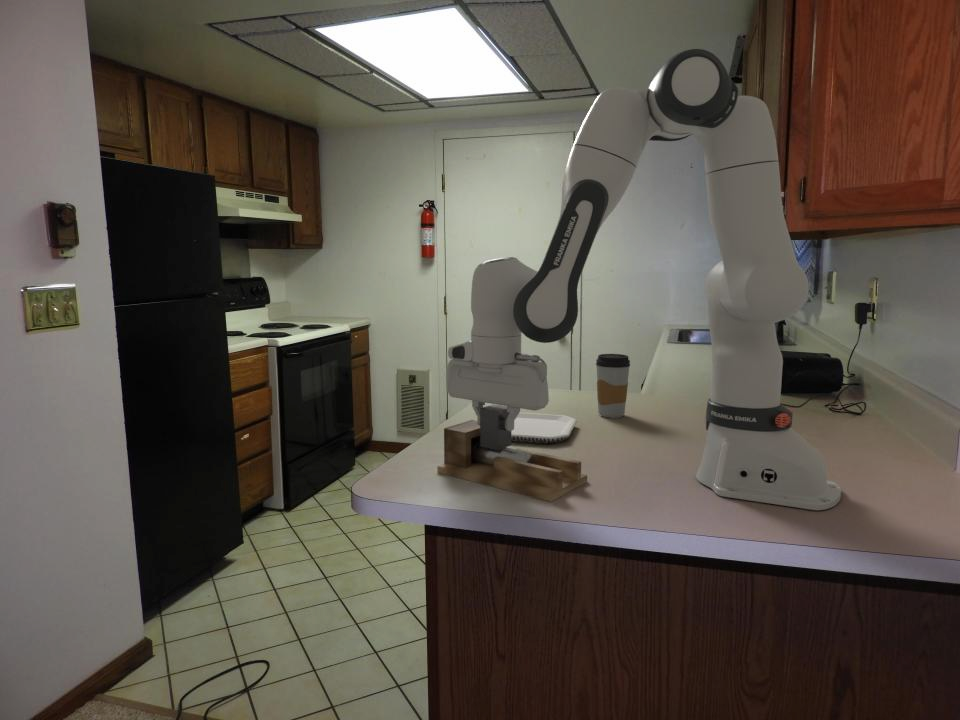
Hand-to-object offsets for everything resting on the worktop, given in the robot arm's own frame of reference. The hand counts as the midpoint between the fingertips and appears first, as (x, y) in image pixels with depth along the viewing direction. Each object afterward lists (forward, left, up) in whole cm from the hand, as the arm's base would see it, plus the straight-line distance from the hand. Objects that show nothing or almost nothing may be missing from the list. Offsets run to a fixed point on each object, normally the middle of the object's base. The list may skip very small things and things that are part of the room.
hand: (495, 427), depth 116 cm
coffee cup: (+4, -54, -9) cm, 55 cm away
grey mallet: (0, 0, -7) cm, 7 cm away
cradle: (-3, 0, -8) cm, 9 cm away
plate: (+12, -28, -9) cm, 32 cm away
